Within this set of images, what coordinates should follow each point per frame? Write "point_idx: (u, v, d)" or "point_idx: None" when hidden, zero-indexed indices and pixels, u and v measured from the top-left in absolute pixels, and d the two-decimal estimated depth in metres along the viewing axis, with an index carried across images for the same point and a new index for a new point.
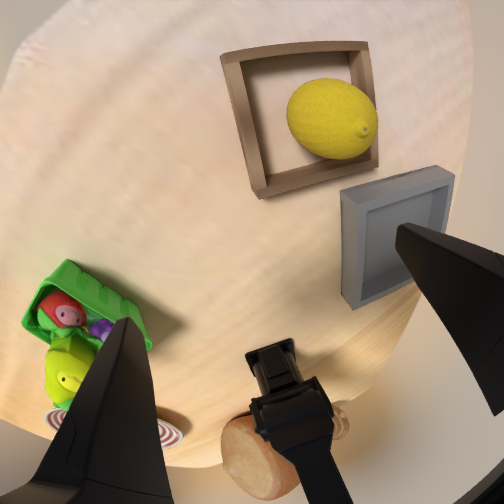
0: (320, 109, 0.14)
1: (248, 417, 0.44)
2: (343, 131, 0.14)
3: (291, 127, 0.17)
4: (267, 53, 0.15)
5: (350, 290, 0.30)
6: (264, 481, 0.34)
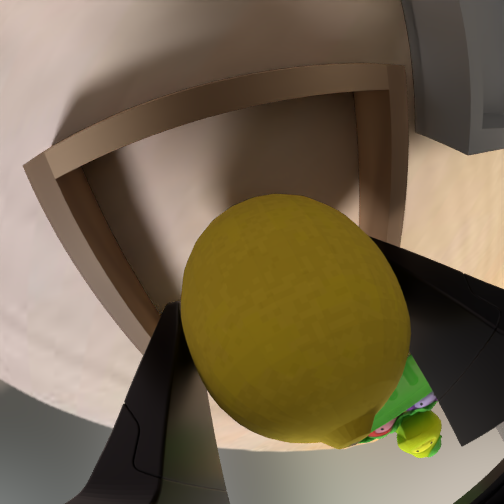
0: None
1: None
2: None
3: None
4: None
5: None
6: None
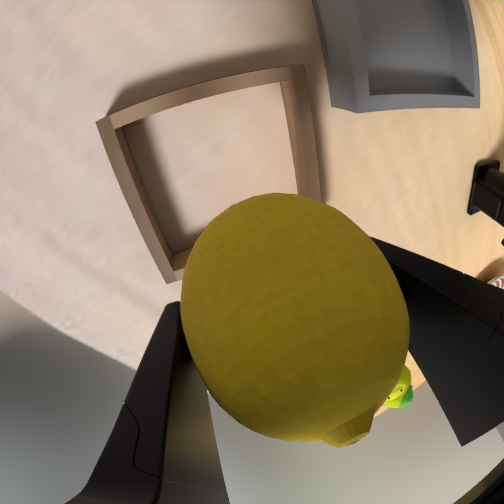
0: None
1: None
2: None
3: None
4: (158, 248, 0.16)
5: None
6: None
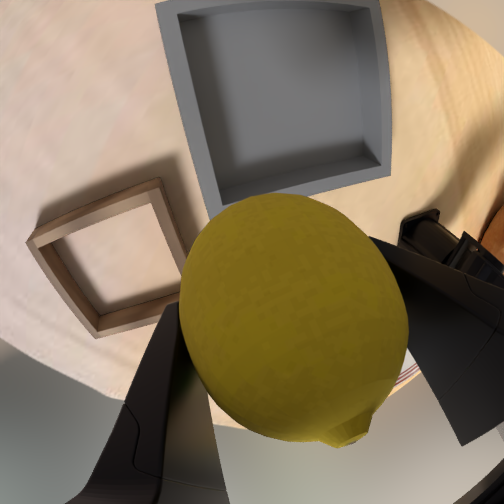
0: None
1: None
2: None
3: None
4: (84, 318, 0.20)
5: None
6: None
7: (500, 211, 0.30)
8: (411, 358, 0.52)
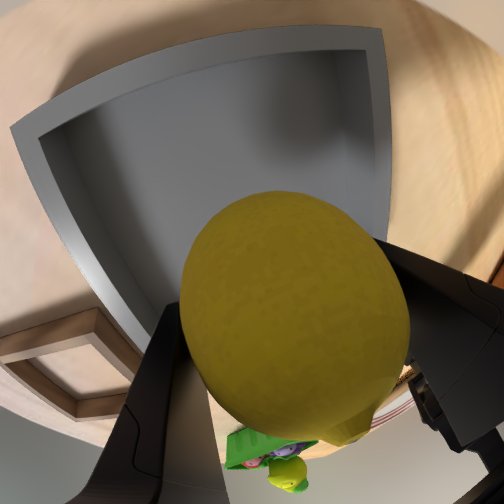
0: None
1: None
2: None
3: None
4: (61, 410, 0.17)
5: None
6: None
7: None
8: (407, 395, 0.48)
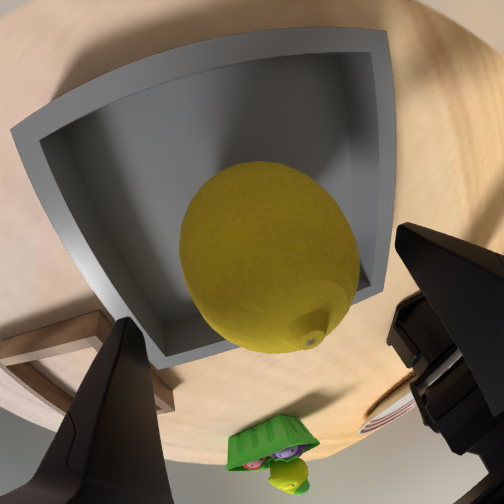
0: None
1: None
2: None
3: None
4: (62, 412, 0.17)
5: None
6: None
7: None
8: (409, 396, 0.48)
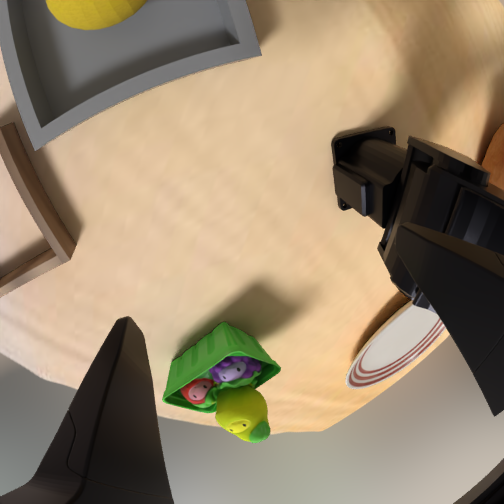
0: (72, 7, 0.06)
1: None
2: None
3: (119, 20, 0.08)
4: None
5: (213, 67, 0.13)
6: None
7: (495, 134, 0.21)
8: (405, 342, 0.45)
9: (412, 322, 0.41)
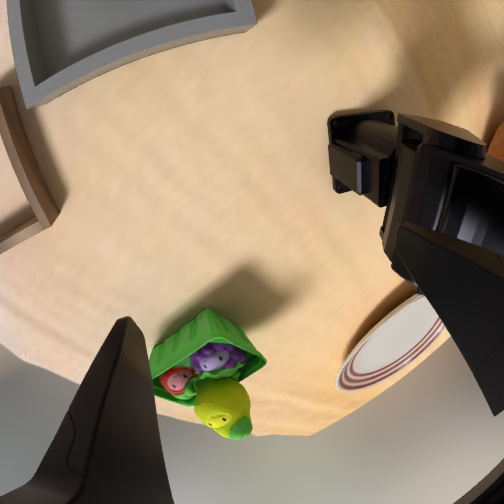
0: None
1: None
2: None
3: None
4: None
5: (208, 34, 0.12)
6: None
7: (499, 127, 0.21)
8: (399, 346, 0.44)
9: (407, 324, 0.40)
